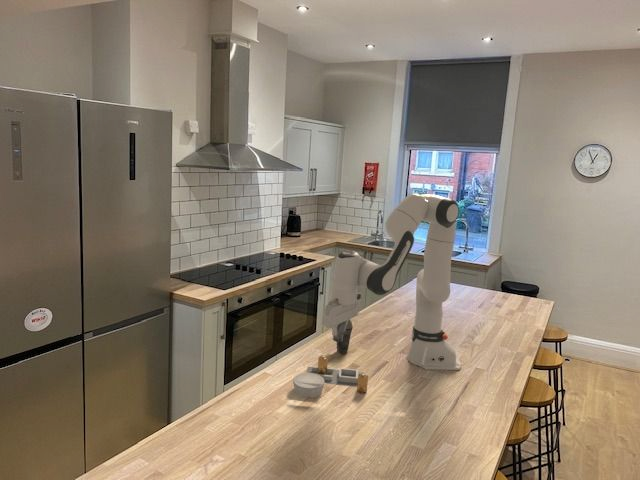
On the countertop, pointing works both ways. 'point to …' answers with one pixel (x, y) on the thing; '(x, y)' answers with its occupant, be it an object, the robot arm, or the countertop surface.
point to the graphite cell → (339, 333)
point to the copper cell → (362, 383)
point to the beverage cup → (345, 339)
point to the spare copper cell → (322, 365)
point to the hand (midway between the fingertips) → (338, 333)
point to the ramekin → (308, 384)
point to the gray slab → (338, 376)
